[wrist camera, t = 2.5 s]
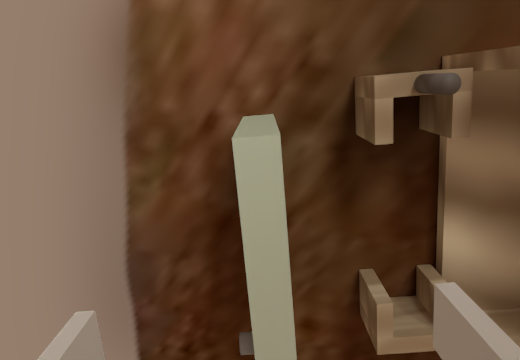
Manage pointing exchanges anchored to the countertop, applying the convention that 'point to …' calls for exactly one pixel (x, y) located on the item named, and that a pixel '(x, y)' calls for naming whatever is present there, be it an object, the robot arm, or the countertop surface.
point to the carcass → (455, 192)
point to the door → (264, 239)
